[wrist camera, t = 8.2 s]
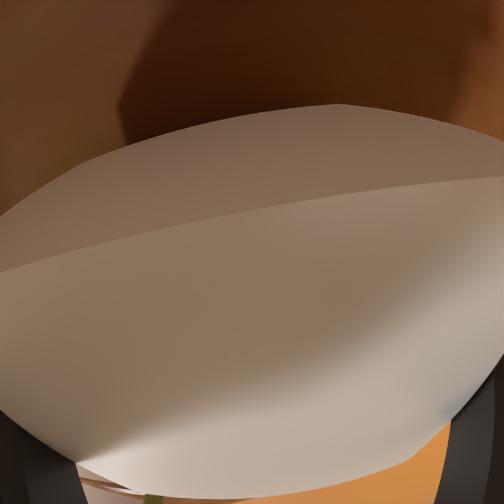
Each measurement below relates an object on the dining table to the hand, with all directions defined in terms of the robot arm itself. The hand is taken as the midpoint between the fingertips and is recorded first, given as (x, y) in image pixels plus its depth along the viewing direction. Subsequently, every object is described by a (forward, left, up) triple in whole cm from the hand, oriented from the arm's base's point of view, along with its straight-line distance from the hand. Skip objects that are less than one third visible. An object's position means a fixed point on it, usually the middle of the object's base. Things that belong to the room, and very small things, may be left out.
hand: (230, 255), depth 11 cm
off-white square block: (0, 0, -1) cm, 1 cm away
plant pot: (+92, -49, -3) cm, 105 cm away
